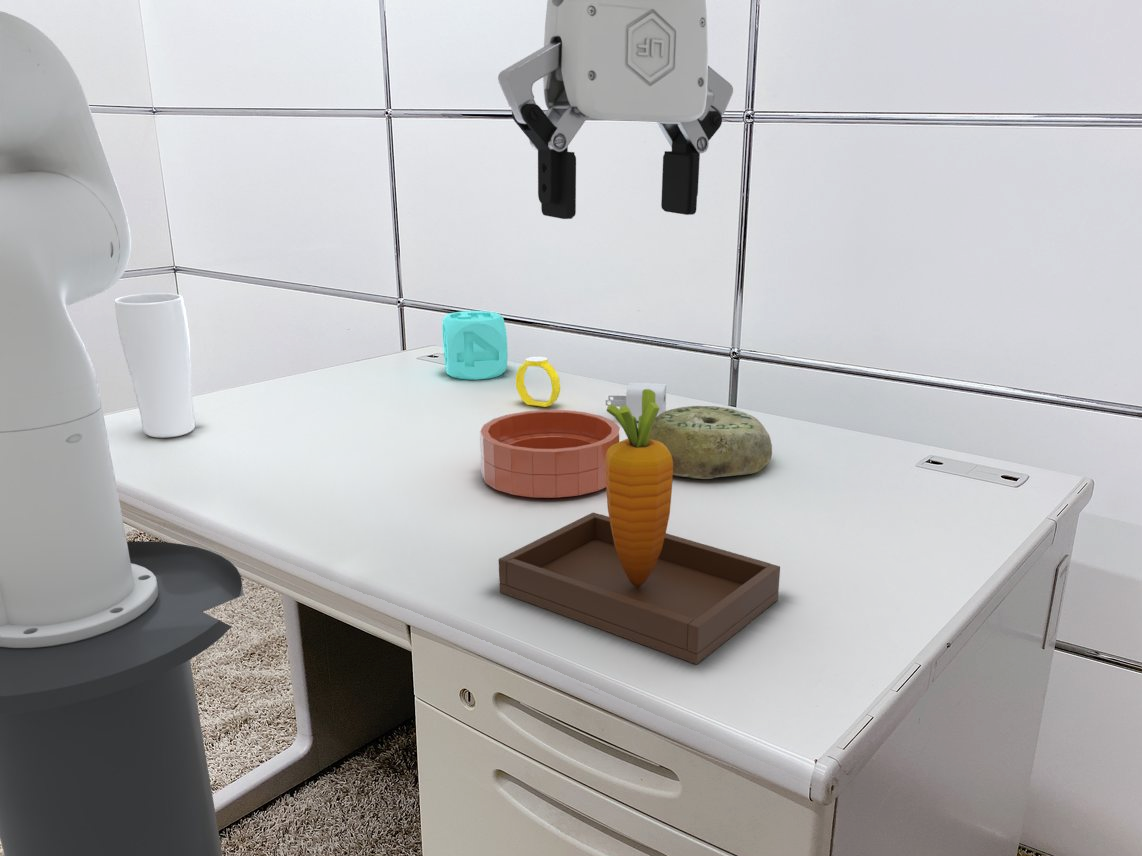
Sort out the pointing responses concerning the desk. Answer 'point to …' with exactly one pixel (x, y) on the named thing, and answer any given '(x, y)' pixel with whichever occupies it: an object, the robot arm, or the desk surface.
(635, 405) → the usb wall charger
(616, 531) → the carrot
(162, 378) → the drinking glass
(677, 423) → the weight
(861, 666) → the desk surface
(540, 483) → the bowl
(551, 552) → the tray
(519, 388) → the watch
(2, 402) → the robot arm
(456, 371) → the decorative dice
